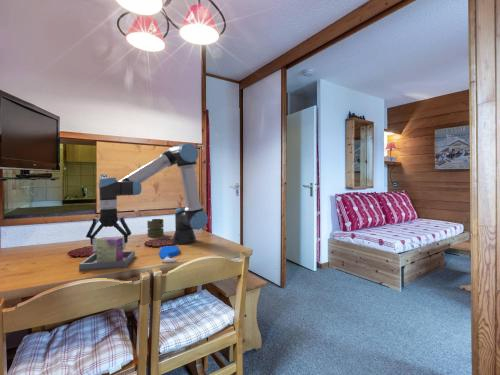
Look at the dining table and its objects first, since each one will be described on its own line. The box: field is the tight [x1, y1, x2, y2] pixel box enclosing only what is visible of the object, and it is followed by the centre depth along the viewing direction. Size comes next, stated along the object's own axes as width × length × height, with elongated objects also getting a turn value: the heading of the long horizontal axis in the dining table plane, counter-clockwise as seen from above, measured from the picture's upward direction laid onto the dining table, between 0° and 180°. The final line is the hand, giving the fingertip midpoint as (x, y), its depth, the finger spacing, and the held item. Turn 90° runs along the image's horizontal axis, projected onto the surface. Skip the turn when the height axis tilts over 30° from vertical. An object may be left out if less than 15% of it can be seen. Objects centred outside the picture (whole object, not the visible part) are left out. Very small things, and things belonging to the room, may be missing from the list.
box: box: [96, 236, 124, 262], centre depth 127 cm, size 10×6×12 cm, turn 85°
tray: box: [78, 250, 136, 272], centre depth 127 cm, size 20×18×3 cm
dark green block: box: [146, 218, 165, 239], centre depth 190 cm, size 11×12×11 cm
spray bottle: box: [158, 245, 180, 264], centre depth 139 cm, size 3×11×24 cm
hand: (109, 250), depth 127 cm, fingers open, 13 cm apart
